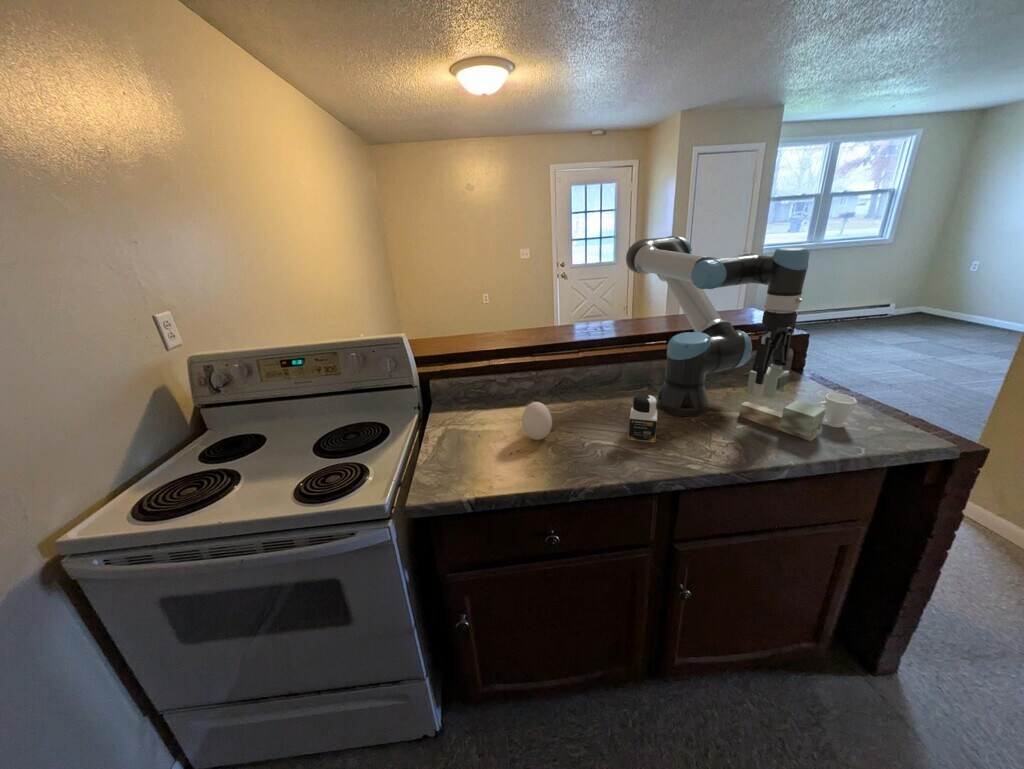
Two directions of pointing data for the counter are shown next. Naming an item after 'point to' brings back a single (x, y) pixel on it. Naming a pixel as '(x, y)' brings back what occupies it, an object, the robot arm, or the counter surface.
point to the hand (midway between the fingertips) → (765, 389)
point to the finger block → (771, 381)
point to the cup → (837, 409)
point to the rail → (769, 418)
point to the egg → (536, 421)
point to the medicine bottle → (643, 418)
